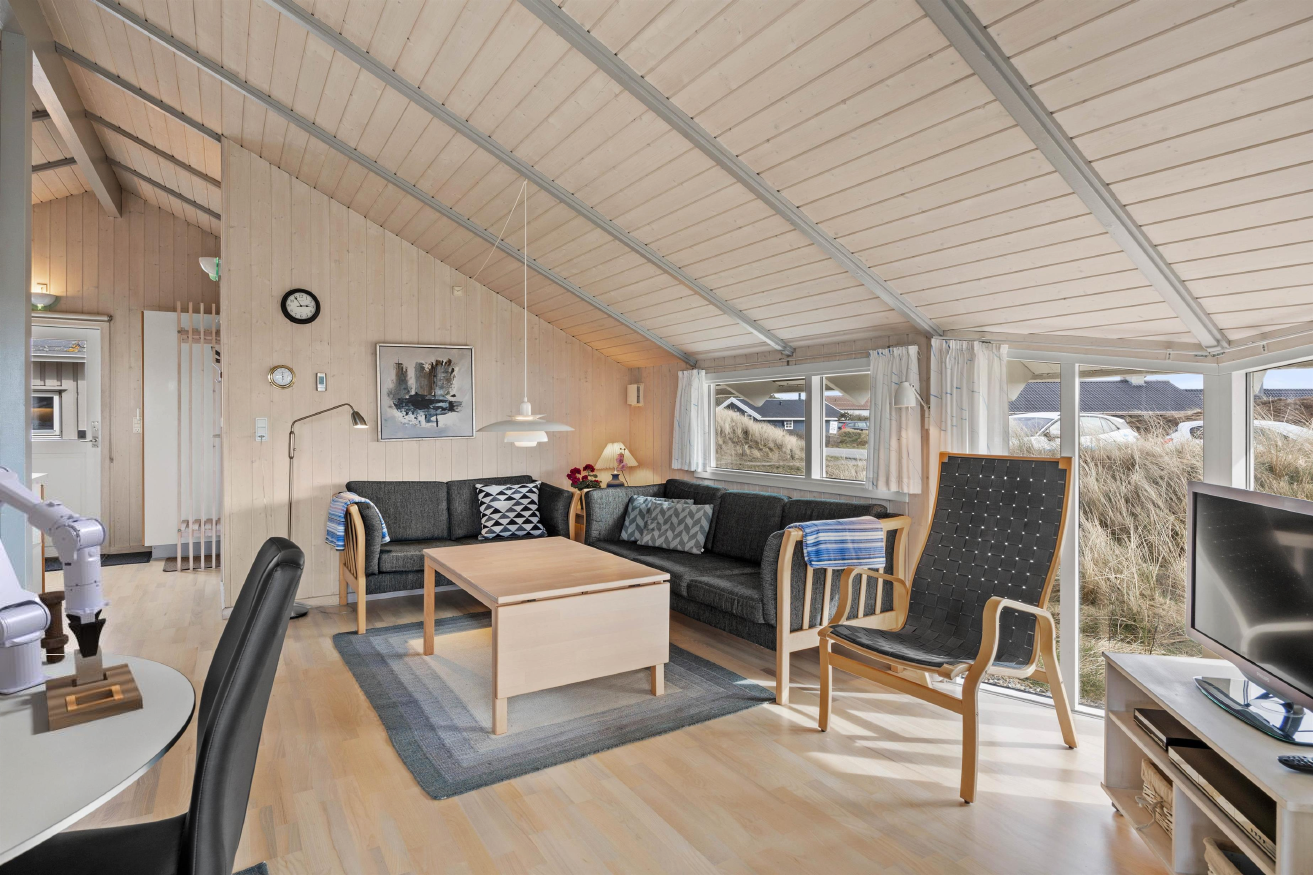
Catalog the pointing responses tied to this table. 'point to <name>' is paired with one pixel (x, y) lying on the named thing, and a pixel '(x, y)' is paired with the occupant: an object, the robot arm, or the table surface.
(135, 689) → the wooden peg hole board
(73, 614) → the robot arm
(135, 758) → the table surface
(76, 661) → the steel peg
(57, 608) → the bolt
